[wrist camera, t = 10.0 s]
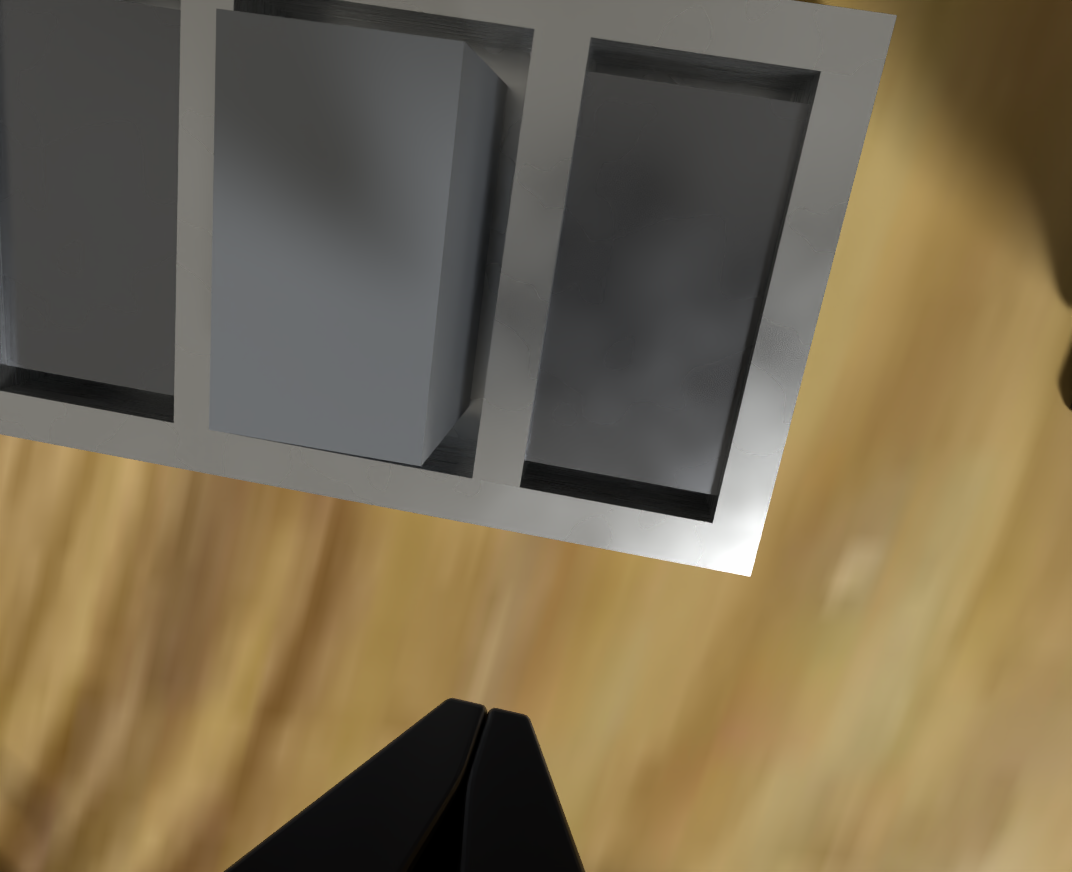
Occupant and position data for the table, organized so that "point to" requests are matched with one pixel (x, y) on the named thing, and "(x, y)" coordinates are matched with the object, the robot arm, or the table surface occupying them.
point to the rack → (512, 261)
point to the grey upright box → (348, 233)
